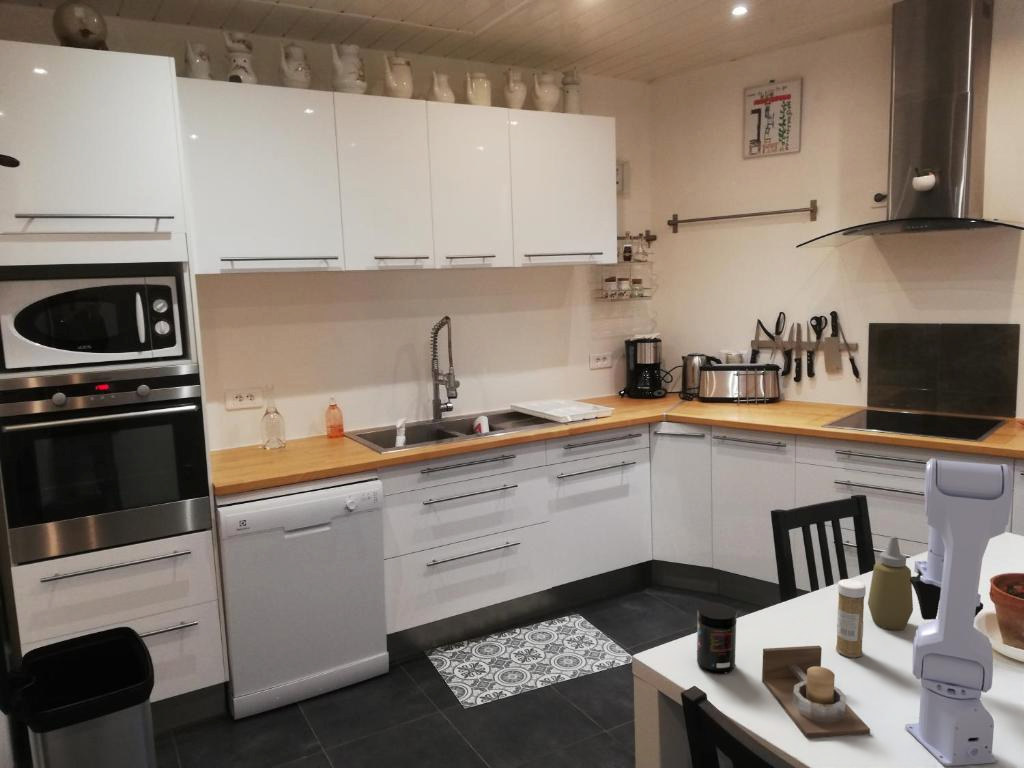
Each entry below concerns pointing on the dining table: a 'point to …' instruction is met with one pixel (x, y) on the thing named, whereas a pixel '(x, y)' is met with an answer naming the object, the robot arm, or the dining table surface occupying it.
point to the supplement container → (716, 637)
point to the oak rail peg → (820, 685)
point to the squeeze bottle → (891, 589)
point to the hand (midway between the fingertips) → (942, 628)
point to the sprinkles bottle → (850, 617)
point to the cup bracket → (789, 686)
